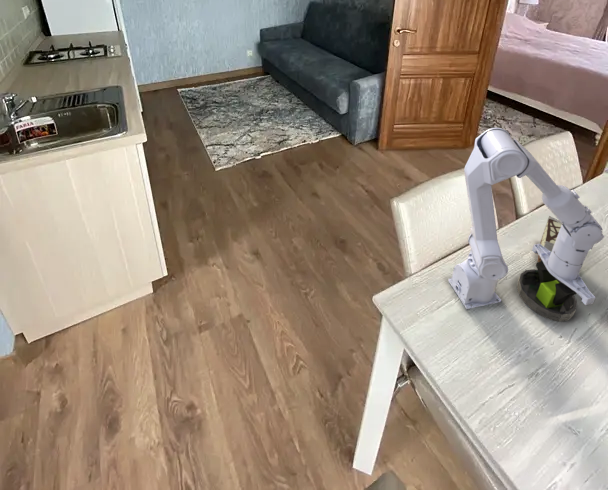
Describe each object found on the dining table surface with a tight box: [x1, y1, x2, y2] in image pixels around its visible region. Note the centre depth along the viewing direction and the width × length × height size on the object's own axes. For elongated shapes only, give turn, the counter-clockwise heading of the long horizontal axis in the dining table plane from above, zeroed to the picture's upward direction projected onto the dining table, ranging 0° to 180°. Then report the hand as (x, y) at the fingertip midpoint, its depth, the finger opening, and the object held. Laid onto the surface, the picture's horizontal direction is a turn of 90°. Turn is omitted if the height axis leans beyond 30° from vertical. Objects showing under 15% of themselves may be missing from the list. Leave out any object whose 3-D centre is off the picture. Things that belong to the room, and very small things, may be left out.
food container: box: [537, 215, 562, 262], centre depth 93 cm, size 12×6×10 cm, turn 143°
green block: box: [536, 280, 563, 308], centre depth 83 cm, size 4×3×4 cm
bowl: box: [516, 268, 578, 323], centre depth 84 cm, size 12×12×3 cm
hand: (551, 296), depth 83 cm, fingers closed on green block, 3 cm apart
